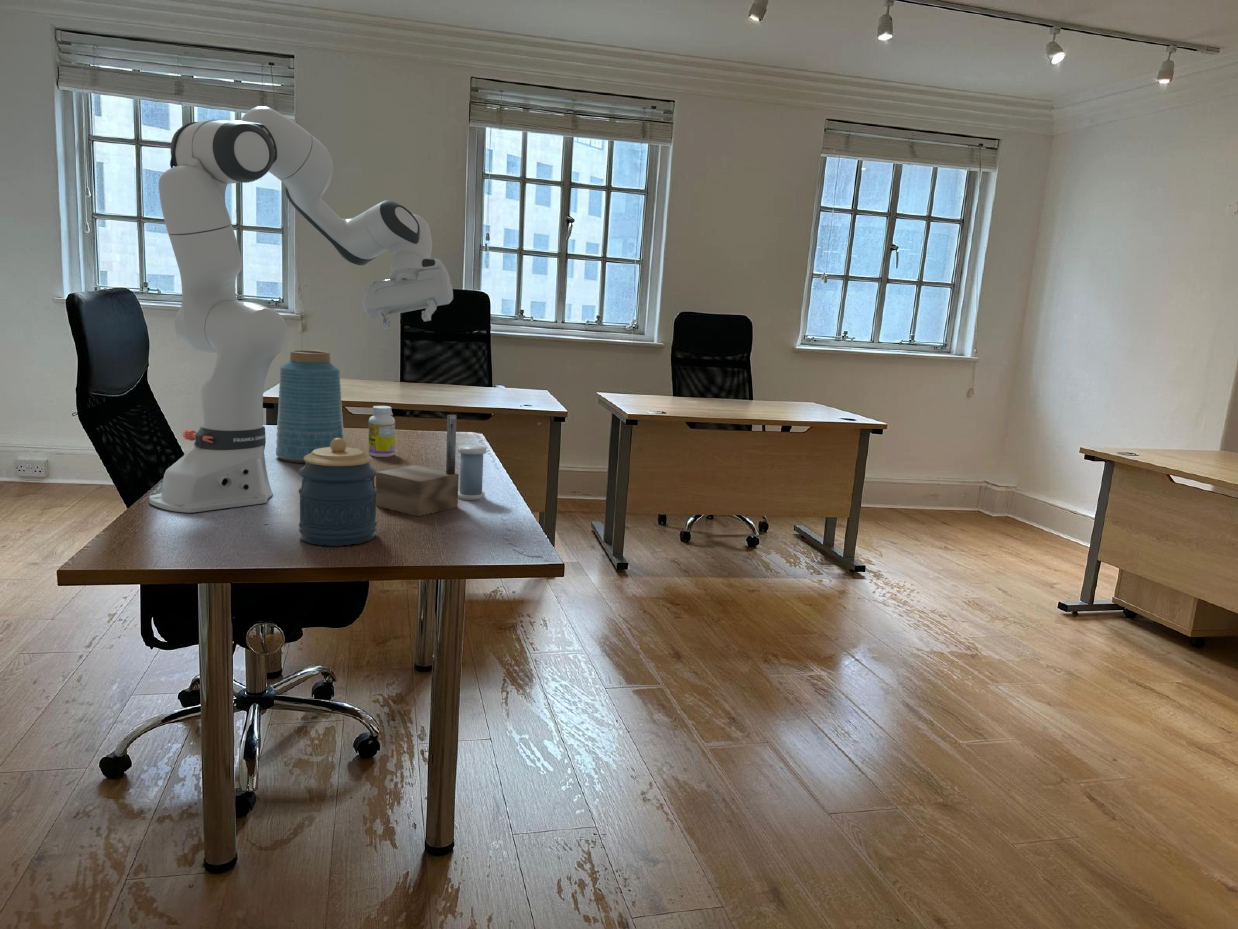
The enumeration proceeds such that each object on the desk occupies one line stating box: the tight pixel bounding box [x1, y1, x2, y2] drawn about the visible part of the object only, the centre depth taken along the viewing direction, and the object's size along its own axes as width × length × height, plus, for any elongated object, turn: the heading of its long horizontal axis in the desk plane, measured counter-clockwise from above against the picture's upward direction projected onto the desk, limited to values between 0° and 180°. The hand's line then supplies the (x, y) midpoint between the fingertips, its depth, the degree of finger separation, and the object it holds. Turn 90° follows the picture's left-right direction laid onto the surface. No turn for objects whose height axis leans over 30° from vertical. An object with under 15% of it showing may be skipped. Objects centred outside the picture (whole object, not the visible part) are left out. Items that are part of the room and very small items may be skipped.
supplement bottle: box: [368, 405, 396, 458], centre depth 221 cm, size 7×7×13 cm
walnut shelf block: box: [375, 464, 460, 517], centre depth 172 cm, size 11×12×7 cm
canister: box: [297, 438, 378, 547], centre depth 147 cm, size 13×13×18 cm
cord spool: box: [457, 444, 487, 501], centre depth 182 cm, size 6×6×11 cm
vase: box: [275, 349, 345, 464], centre depth 210 cm, size 16×16×27 cm
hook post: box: [445, 414, 457, 475], centre depth 169 cm, size 2×6×12 cm, turn 14°
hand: (405, 323), depth 185 cm, fingers open, 8 cm apart
